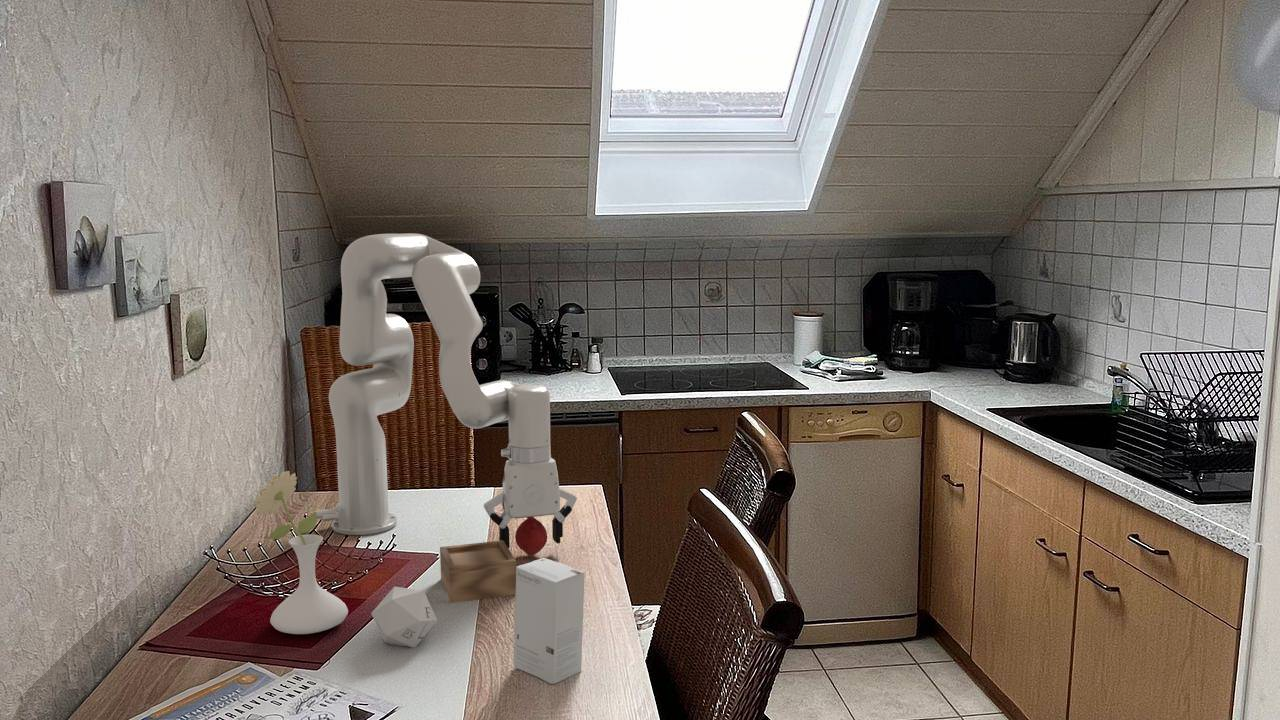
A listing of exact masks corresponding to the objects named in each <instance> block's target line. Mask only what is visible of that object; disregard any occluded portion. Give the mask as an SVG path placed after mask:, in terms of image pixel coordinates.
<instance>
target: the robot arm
mask: <svg viewBox="0 0 1280 720" xmlns="http://www.w3.org/2000/svg"><path fill="white" fill-rule="evenodd" d="M340 278H341V281H340V282H341V289H342V290H341V292H342V295H341V308H340V326H339V351H340V355H341V358H342V359H343V360H344V361H345V363H347V364H349V365H352V366H355V367H357V366H358V367H361V366H368V365H369V366H371V365H373V366H372V367H371V368H365V369H361V370H356V371H352V372H348V373H345V374H343V375H341V376H339V377H338V378H337V379H335V380H334V381H333V383H332V385H331V386H330V389H329V392H328V401H329V402H328V403H329V407H330V413H331V416H332V420H333V423H334V424H333V425H334V432H335V433H334V434H335V445H336V447H335V448H336V460H337V461H336V462H337V465H336V467H337V484H338V485H337V486H338V502H337V503H336V504H337V505H336V506H333V507H332V508H330V509H323V508H322V509H316V510H315V512H316V515H317V521H318V520H322V522H330V521H332V523H331V529H332V530H333V532H336V533H338V534H341V535H346V536H347V535H349V536H365V535H366V536H368V535H374V534H379V533H382V532H385V531H389V530H391V529H392V528H394V527H395V526H396V525H397V524H398V520H397V517H396V515H394V514H392V513H390V512H389V496H388V495H389V491H388V489H389V488H388V487H389V486H388V468H387V467H388V466H387V462H388V461H387V445H386V443H387V442H386V436H385V432H384V429H383V428H382V426H381V423H380V422H379V419H378V416H380V415H383V414H387V413H391V412H394V411H396V410H399V409H400V408H402V407H404V406H405V404H406V403H407V402H408V400H409V398H410V396H411V395H410V394H411V391H412V379H413V368H414V367H413V363H414V351H415V343H414V342H415V339H414V334H413V331H412V329H411V326H410V325H409V323H408V322H407V321H406V319H405V318H403V317H402V316H400V315H398V314H395V313H387V308H388V307H387V306H388V297H387V291H386V289H385V286H384V284H383V282H382V280H386V279H401V278H411V279H412V283H413V286H414V288H415V290H416V292H417V294H418V297H419V299H420V301H421V303H422V305H423V308H424V310H425V311H426V314H427V316H428V318H429V320H430V322H431V325H432V327H433V329H434V332H435V334H436V335H437V337H438V340H439V343H440V348H439V354H438V375H439V381H440V386H441V389H442V391H443V393H444V397H445V398H446V399H447V402H448V404H449V407H450V408H451V411H452V412H453V414H454V415H455V416H456V418H457V419H458V421H459V422H460V424H462V425H464V426H465V427H467V428H470V429H474V430H475V429H476V430H477V429H483V428H485V427H489V426H491V425H494V424H497V423H501V422H506V421H508V443H507V447H506V448H502V449H501V450H500V455H501V457H502V458H503V457H506V458H508V459H507V460H506V461H505V465H504V471H503V479H502V489H501V490H502V492H500V493H499V494H497V495H495V496H494V497H493V498H491V499H489V500H488V501H486V502H484V503H483V508H484V510H485V511H486V514H488V516H489V518H490V519H491V521H493V523H494V524H496V525H497V526H498V531H499V533H498V534H499V535H498V536H499V537H498V538H499V540H498V541H501V540H503V541H504V542H505V544H506V546H507V547H508V549H509V550H510V546H511V545H510V528H509V526H508V524H509V523H510V522H511V520H512V519H527V517H534V518H535V517H536V518H537V517H544V516H552V515H553V518H552V522H551V523H552V524H551V526H552V527H551V529H552V531H551V533H552V535H551V536H552V540H553V541H554V542H555V543H556V544H557V545H558V544H561V538H563V537H564V531H563V530H564V524H563V523H564V522H565V520H566V518H567V517H568V516H569V514H571V512H572V511H573V508H574V506H575V504H576V502H577V500H578V498H577V496H576V495H575V494H572V493H570V492H569V491H566V490H563V489H561V488H560V483H559V482H560V480H559V475H558V474H559V473H558V469H557V468H558V467H557V463H556V459H554V458H552V454H551V399H550V398H551V396H550V395H551V394H550V392H549V389H548V388H546V386H543V385H537V384H536V385H535V384H525V385H524V384H520V383H518V382H514V381H510V380H504V379H499V380H494V381H491V382H486V383H482V384H479V382H478V380H477V378H476V376H475V374H474V371H473V368H472V364H471V351H472V345H473V343H474V342H475V340H476V338H477V337H478V336H479V335H480V333H481V332H482V330H483V327H484V324H483V321H482V319H481V317H480V315H479V312H478V311H477V308H476V307H475V305H474V302H473V300H472V298H471V296H470V295H471V294H473V293H475V291H477V290H478V288H479V286H480V284H481V271H480V268H479V266H478V264H477V263H476V261H475V260H474V259H473V258H472V257H471V256H470V255H469V254H467V253H466V252H463V251H461V250H459V249H458V248H455V247H453V246H451V245H448V244H446V243H443V242H442V241H439V240H437V239H436V238H435V239H434V238H432V237H430V236H428V235H425V234H422V233H412V232H411V233H378V234H377V233H376V234H370V235H365V236H361V237H359V238H357V239H355V240H354V241H353V242H351V243H350V244H349V245H348V246H347V247H346V249H345V251H344V252H343V255H342V257H341V263H340ZM561 498H562V499H563V500H566V502H565V505H563V506H562V507H561ZM501 504H502V507H501V508H502V510H503V511H502V512H501V514H500V515H499V514H498V513H496V511H495V510H494V509H495V508H496V507H497V506H499V505H501Z"/></svg>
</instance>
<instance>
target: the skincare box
mask: <svg viewBox="0 0 1280 720" xmlns="http://www.w3.org/2000/svg"><path fill="white" fill-rule="evenodd" d="M584 594H585V572H584V571H581V570H578V569H576V568H574V567H571V566H568V565H567V564H565V563H562V562H557V561H555V560H552V559H548V558H546V557H542V558H539V559H535V560H532V561H531V562H527V563H524V564H521V565H516V594H515V604H514V605H515V606H514V610H515V611H514V637H513V640H514V641H513V667H514V668H515V669H518V671H519V670H520V671H522V672H525V673H527V674H530V675H532V676H534V677H537V678H539V679H541V680H543V681H545V682H546V683H548V684H550V685H555V684H558V683H559V682H562V681H563V680H566V679H569V678H570V677H572V676H574V675H576V674H578V673H580V672H582V656H583V654H582V653H583V630H584V629H583V627H584V625H583V624H584V623H583V622H584V598H585V597H584V596H585V595H584Z"/></svg>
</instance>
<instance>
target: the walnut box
mask: <svg viewBox="0 0 1280 720" xmlns="http://www.w3.org/2000/svg"><path fill="white" fill-rule="evenodd" d="M439 555H440V556H439V557H440V559H439V560H440V580H441V583H442V586H443V587H444V588H443V589H444V591H445V593H446V595H447V598H448V600H449V603H450V604H451V603H458V602H465V601H466V602H467V601H474V600H484V599H489V598H490V599H491V598H499V597H506V596H514V595H515V596H516V567H517V560H516V558H515V556H514V555H513V554H512V552H511V550H510V548H509V549H508V547H507V546H506V544H505V542H504V541H503V540H501V541H499V540H494V541H493V540H492V541H483V542H474V543H467V544H466V543H465V544H457V545H448V546H447V545H445V546H439Z"/></svg>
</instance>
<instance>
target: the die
mask: <svg viewBox="0 0 1280 720" xmlns="http://www.w3.org/2000/svg"><path fill="white" fill-rule="evenodd" d="M370 614H371V616H372V618H373V621H374V622H375V625H376V627H377V628H378V630H379V633H380V635H381V638H382V639H383V641H384V643H385V644H390V645H396V646H400V647H407V648H412V649H414V648H416V647H417V646H418V644H419V643H420V642H421V641H422V639H423V638H425V636H426V635H427V634H428V632H429V631H430V630H431V629H432V628H433V626H434V625H435V624H436V622H437V621H438V619H437V617H436V614H435V613H434V610H433V608H432V606H431V604H430V601H429V599H428V597H427V595H426V592H425V591H424V590H419V589H415V588H407V587H401V586H393V587H392V589H391V590H390V591H389V592H388V593H387V594H386V595H385V597H383V599H382V600H381V601H380V603H379V604H378V605H377V606H376V607H375V608H374V610H372V611H371V613H370Z"/></svg>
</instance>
